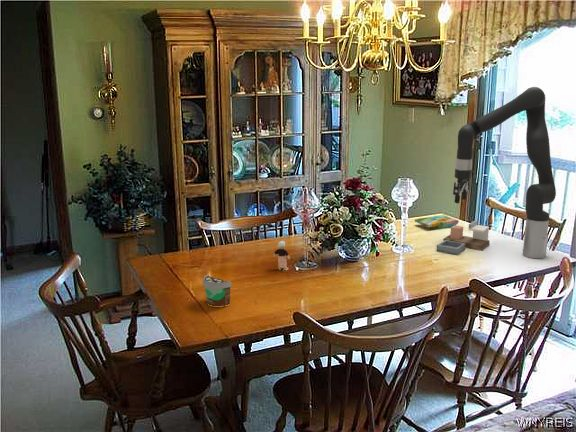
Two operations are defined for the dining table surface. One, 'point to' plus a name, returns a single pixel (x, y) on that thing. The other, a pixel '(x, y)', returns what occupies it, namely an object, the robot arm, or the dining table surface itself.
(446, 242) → the tray
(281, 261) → the grandmother figurine
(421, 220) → the puzzle game
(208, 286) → the food container
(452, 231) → the block
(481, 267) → the dining table surface
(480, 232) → the light grey blocky form
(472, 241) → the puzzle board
